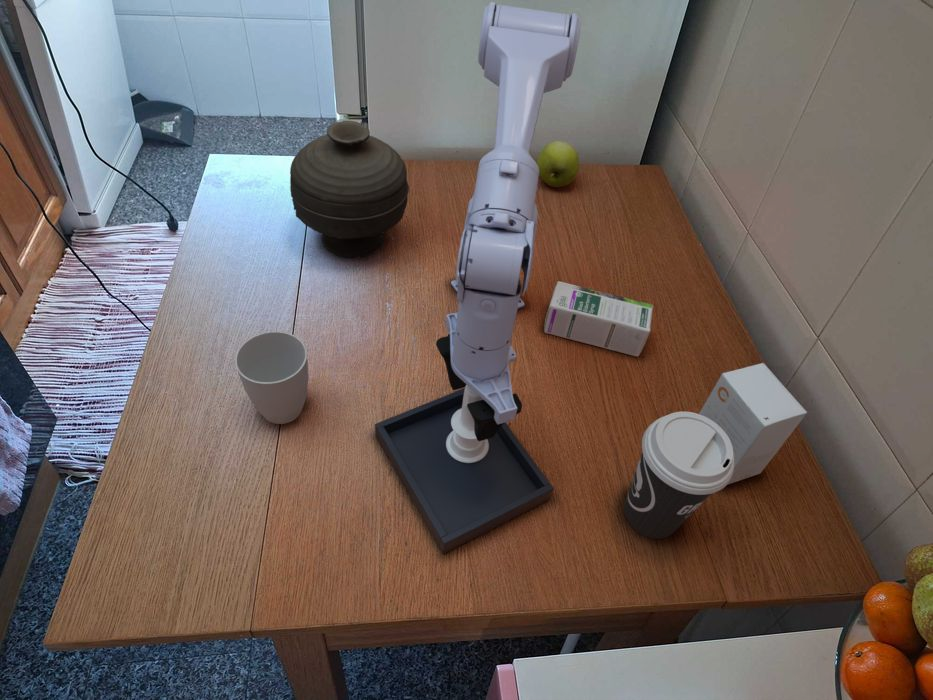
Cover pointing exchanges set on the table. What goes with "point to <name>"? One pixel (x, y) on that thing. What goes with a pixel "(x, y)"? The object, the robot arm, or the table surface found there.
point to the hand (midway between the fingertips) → (472, 410)
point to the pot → (349, 189)
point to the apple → (558, 164)
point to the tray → (459, 473)
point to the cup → (274, 374)
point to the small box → (753, 416)
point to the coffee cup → (677, 472)
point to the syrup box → (598, 318)
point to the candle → (465, 433)
